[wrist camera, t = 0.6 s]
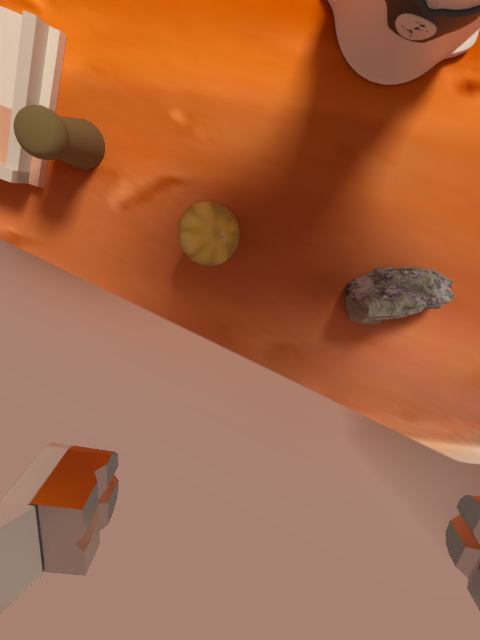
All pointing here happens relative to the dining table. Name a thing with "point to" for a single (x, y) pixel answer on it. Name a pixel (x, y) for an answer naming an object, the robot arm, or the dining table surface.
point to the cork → (58, 137)
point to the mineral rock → (395, 294)
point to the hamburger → (208, 233)
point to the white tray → (26, 86)
